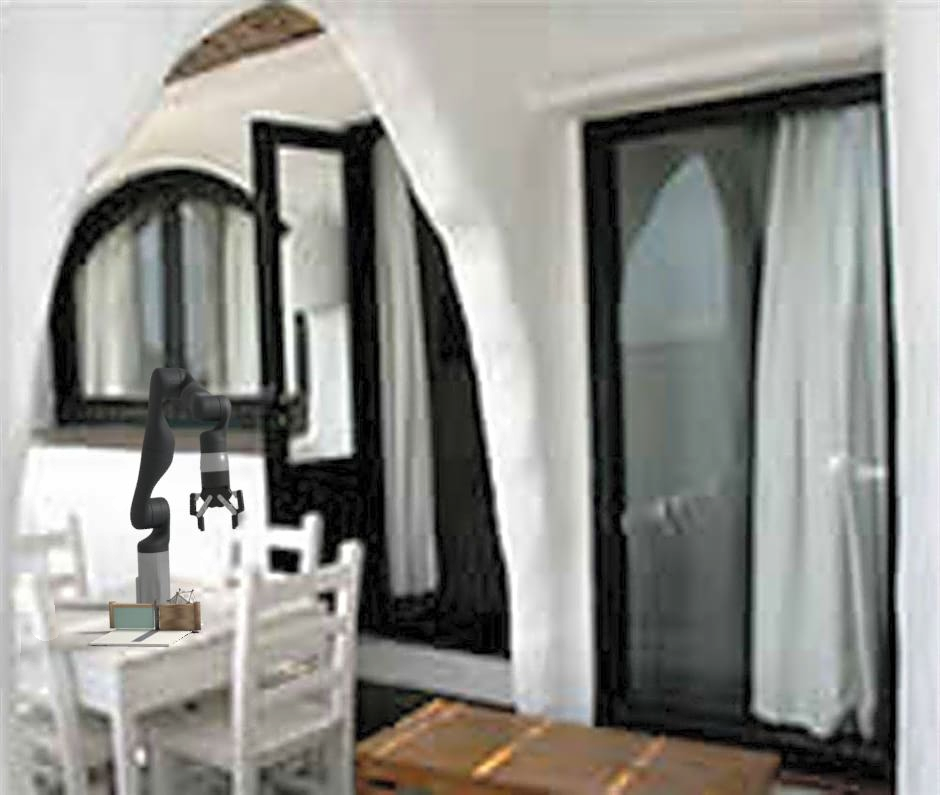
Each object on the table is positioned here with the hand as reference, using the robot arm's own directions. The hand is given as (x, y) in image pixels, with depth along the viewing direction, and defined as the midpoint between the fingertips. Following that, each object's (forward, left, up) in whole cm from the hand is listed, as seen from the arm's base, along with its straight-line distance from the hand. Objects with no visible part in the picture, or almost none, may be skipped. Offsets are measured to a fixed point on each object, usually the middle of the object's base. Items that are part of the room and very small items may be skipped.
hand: (218, 530), depth 313 cm
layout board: (-21, 0, -29) cm, 35 cm away
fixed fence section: (-14, +4, -28) cm, 31 cm away
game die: (-20, +23, -29) cm, 42 cm away
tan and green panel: (-27, +4, -28) cm, 39 cm away
